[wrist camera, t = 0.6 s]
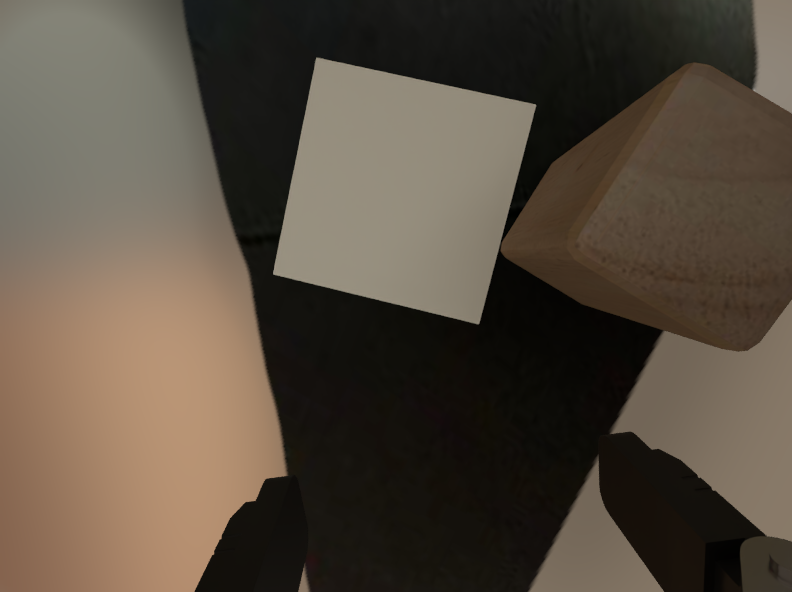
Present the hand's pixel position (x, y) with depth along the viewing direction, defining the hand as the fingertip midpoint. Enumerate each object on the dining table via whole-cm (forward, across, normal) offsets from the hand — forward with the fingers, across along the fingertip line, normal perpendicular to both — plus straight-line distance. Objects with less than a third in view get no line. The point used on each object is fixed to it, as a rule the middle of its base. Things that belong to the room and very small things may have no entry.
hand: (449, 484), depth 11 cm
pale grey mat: (+30, -1, -8) cm, 31 cm away
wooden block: (+28, -16, -2) cm, 33 cm away
